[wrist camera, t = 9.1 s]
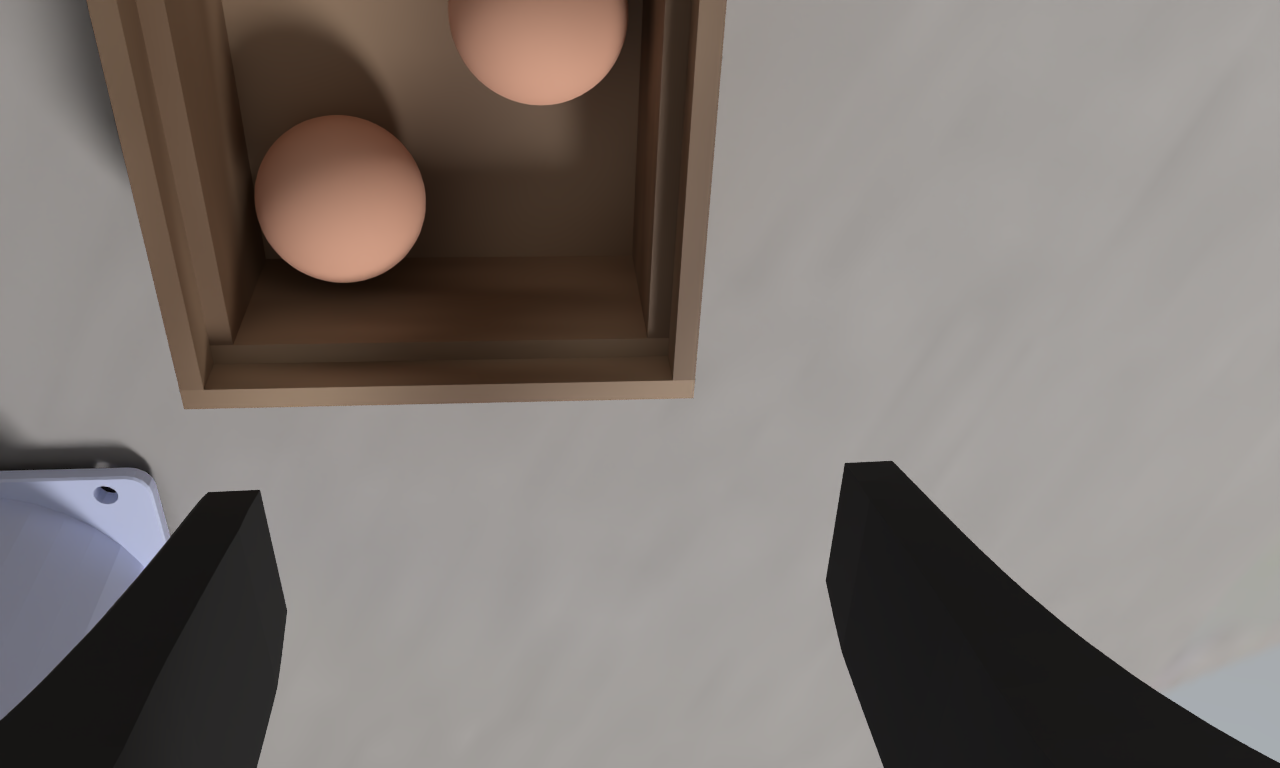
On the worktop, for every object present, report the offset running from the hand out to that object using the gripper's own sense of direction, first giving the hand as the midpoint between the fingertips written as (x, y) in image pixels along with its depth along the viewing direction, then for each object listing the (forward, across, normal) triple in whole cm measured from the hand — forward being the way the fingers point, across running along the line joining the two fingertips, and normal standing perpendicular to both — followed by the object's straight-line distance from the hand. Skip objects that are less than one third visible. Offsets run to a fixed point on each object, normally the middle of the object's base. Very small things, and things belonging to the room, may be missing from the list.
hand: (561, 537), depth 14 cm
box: (+10, +2, -2) cm, 11 cm away
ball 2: (+10, 0, -4) cm, 11 cm away
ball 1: (+10, +4, -1) cm, 11 cm away
